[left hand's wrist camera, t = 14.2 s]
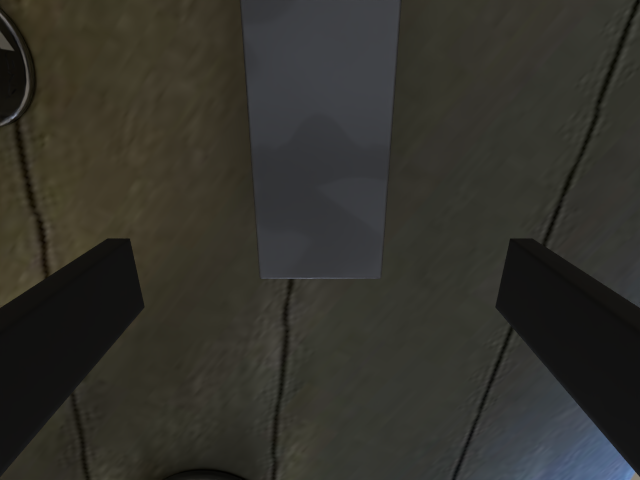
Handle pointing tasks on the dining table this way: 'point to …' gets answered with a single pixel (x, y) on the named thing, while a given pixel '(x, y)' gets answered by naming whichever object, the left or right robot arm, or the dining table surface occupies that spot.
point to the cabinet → (320, 132)
